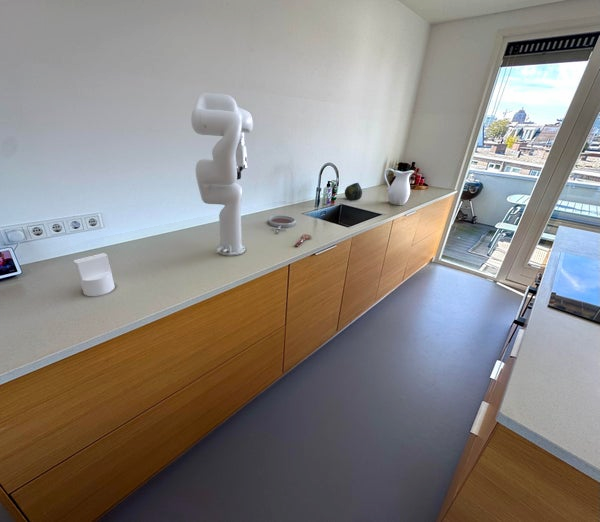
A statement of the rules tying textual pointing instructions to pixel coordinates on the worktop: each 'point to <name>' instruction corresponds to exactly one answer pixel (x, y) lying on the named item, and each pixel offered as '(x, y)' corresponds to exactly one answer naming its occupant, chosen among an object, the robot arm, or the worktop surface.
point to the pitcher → (399, 187)
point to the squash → (353, 192)
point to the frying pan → (281, 222)
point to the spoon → (303, 239)
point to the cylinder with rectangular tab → (95, 274)
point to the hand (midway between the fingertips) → (237, 179)
